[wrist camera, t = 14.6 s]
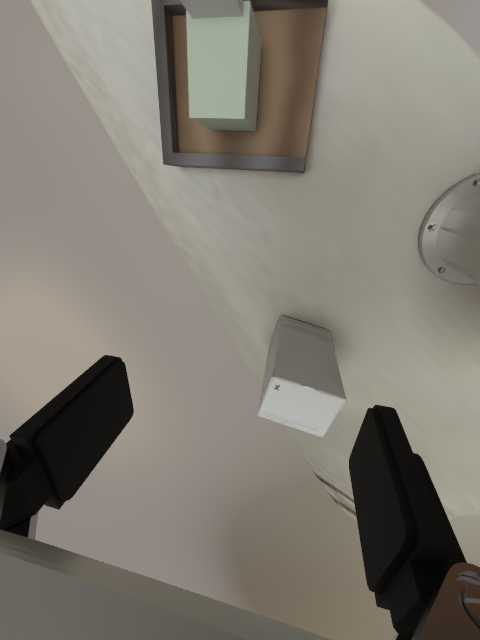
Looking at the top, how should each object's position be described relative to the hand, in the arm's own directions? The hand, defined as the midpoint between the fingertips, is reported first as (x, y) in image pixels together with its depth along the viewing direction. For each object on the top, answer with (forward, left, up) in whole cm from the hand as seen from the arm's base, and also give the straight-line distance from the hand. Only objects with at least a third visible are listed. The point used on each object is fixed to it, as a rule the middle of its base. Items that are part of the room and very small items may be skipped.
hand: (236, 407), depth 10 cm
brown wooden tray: (+7, -16, -30) cm, 35 cm away
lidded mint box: (+7, -16, -27) cm, 32 cm away
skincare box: (-4, +14, -31) cm, 34 cm away
